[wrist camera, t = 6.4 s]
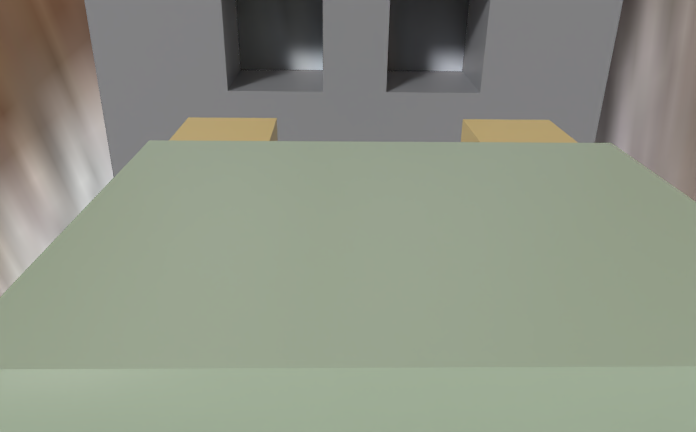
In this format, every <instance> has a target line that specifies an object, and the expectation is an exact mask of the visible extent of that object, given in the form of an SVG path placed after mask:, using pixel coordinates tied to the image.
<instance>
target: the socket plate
mask: <svg viewBox="0 0 696 432" xmlns="http://www.w3.org/2000/svg"><path fill="white" fill-rule="evenodd" d="M622 3H623V0H469V7H468V17H467V28H466V38H465V48H464V59H463V69H462V72H461V71H387V61H388V37H389V14H390V0H323V70H240V54H239V38H238V22H237V6H236V0H85V7H86V13H87V19H88V25H89V31H90V37H91V43H92V49H93V55H94V61H95V67H96V73H97V79H98V85H99V91H100V97H101V103H102V109H103V115H104V121H105V127H106V133H107V140H108V146H109V152H110V158H111V164H112V170H113V176H114V177H115V176H116V175H117V174H118V173H119V172H120V171H121V170H122V169H123V167H124V166H125V165H126V164H127V163H128V162H129V161H130V160H131V159H132V158H133V157H134V156H135V155H136V154H137V153H138V152H139V151H140V150H141V149H142V147H143V146H144V145H145V144H146V143H147V142H148V141H149V140H170V138H171V137H172V136H173V135H174V134H175V133H176V131H177V130H178V129H179V128H180V127H181V125H182V124H183V123H184V122H185V121H186V120H187V118H188V117H200V118H277V137H278V141H353V142H461V133H462V122H463V119H500V120H550V121H551V122H553V123H554V124H555V125H556V126H558V127H559V128H560V129H561V130H563V131H564V132H565V133H566V134H568V135H569V136H570V137H572V138H573V139H574V140H575V141H577V142H578V143H595V139H596V134H597V129H598V124H599V119H600V114H601V109H602V104H603V99H604V94H605V89H606V84H607V79H608V74H609V69H610V64H611V59H612V54H613V49H614V44H615V39H616V34H617V29H618V24H619V19H620V13H621V8H622Z"/></svg>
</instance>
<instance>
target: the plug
mask: <svg viewBox="0 0 696 432" xmlns="http://www.w3.org/2000/svg"><path fill="white" fill-rule="evenodd" d="M0 432H696V202H695V201H694V200H692V199H691V198H689V197H688V196H686V195H685V194H684V193H682V192H681V191H679V190H678V189H676V188H675V187H674V186H672V185H671V184H669V183H668V182H666V181H665V180H663V179H662V178H661V177H659V176H658V175H656V174H655V173H653V172H652V171H651V170H649V169H648V168H646V167H645V166H643V165H642V164H641V163H639V162H638V161H636V160H635V159H633V158H632V157H630V156H629V155H628V154H626V153H625V152H623V151H622V150H620V149H619V148H618V147H616V146H615V145H613V144H612V143H578V142H577V141H575V140H574V139H573V138H572V137H570V136H569V135H568V134H566V133H565V132H564V131H563V130H561V129H560V128H559V127H558V126H556V125H555V124H554V123H553V122H551V121H550V120H500V119H463V122H462V133H461V142H353V141H278V137H277V118H200V117H188V118H187V120H186V121H185V122H184V123H183V124H182V125H181V127H180V128H179V129H178V130H177V131H176V133H175V134H174V135H173V136H172V137H171V138H170V140H149V141H148V142H147V143H146V144H145V145H144V146H143V147H142V149H141V150H140V151H139V152H138V153H137V154H136V155H135V156H134V157H133V158H132V159H131V160H130V161H129V162H128V163H127V164H126V165H125V166H124V167H123V169H122V170H121V171H120V172H119V173H118V174H117V175H116V176H115V177H114V178H113V179H112V180H111V181H110V182H109V183H108V184H107V185H106V186H105V187H104V188H103V190H102V191H101V192H100V193H99V194H98V195H97V196H96V197H95V198H94V199H93V200H92V201H91V202H90V203H89V204H88V205H87V206H86V207H85V208H84V210H83V211H82V212H81V213H80V214H79V215H78V216H77V217H76V218H75V219H74V220H73V221H72V222H71V223H70V224H69V225H68V226H67V227H66V228H65V229H64V231H63V232H62V233H61V234H60V235H59V236H58V237H57V238H56V239H55V240H54V241H53V242H52V243H51V244H50V245H49V246H48V247H47V248H46V249H45V251H44V252H43V253H42V254H41V255H40V256H39V257H38V258H37V259H36V260H35V261H34V262H33V263H32V264H31V265H30V266H29V267H28V268H27V269H26V270H25V272H24V273H23V274H22V275H21V276H20V277H19V278H18V279H17V280H16V281H15V282H14V283H13V284H12V285H11V286H10V287H9V288H8V289H7V290H6V292H5V293H4V294H3V295H2V296H1V297H0Z"/></svg>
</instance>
